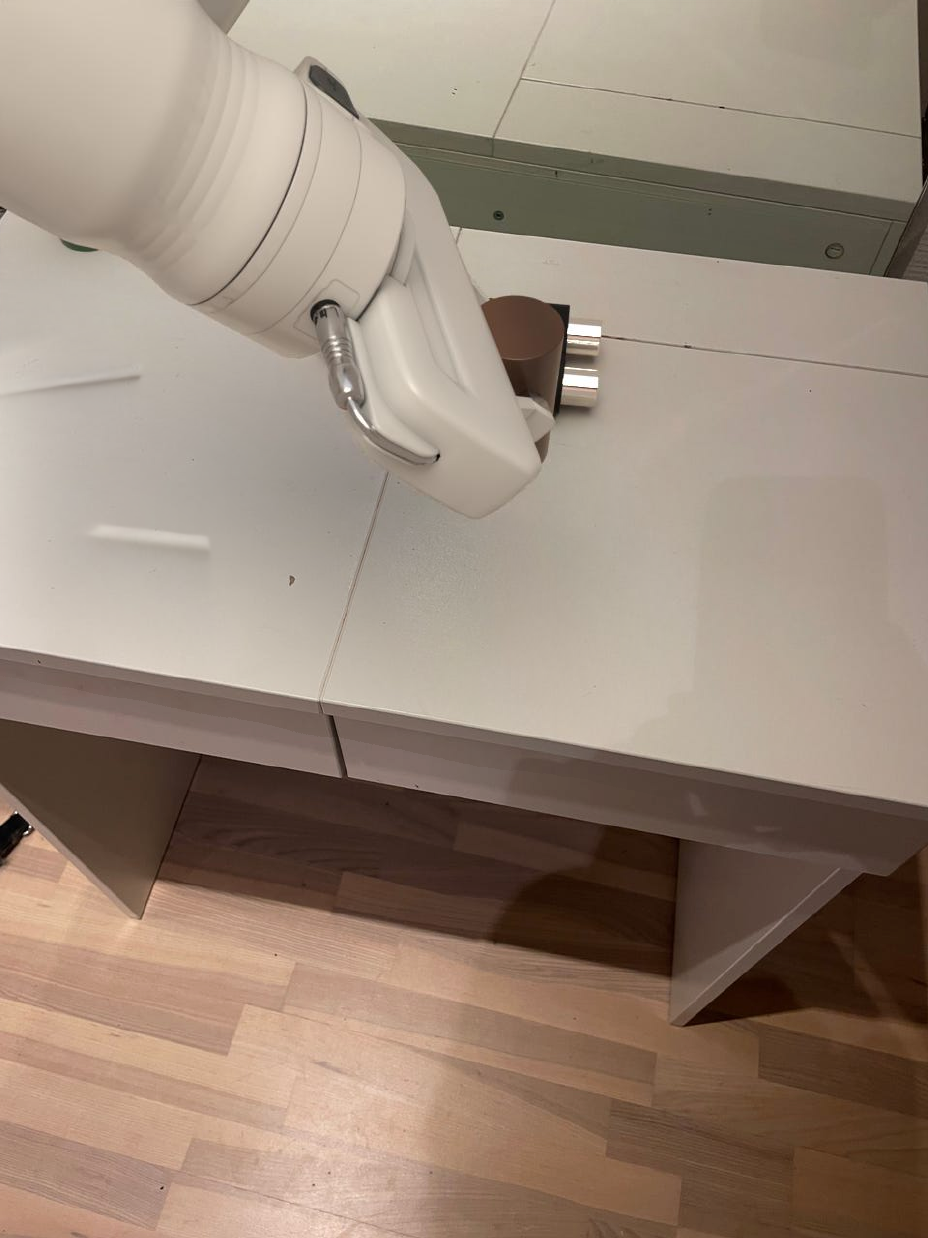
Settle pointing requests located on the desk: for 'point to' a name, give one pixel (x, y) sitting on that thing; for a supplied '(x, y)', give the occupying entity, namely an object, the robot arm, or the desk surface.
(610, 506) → the desk surface
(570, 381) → the audio adapter
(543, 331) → the brown cylinder
